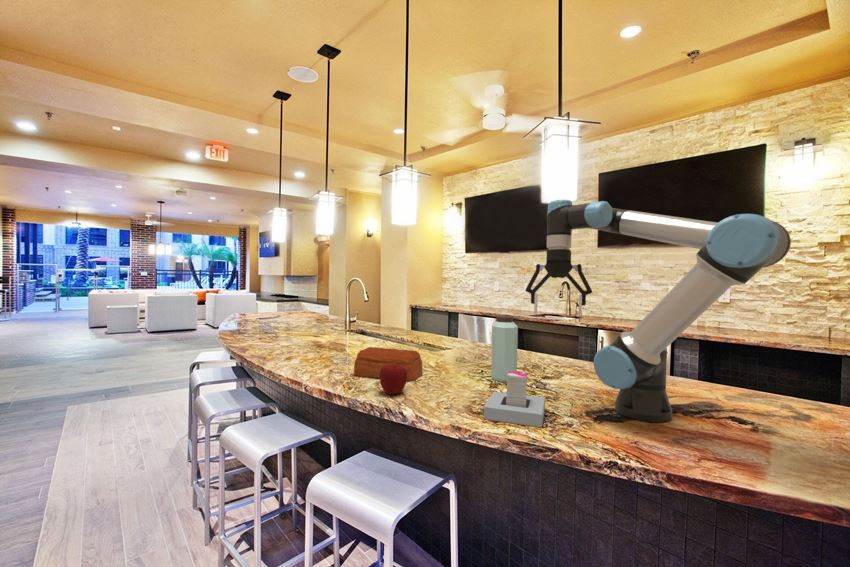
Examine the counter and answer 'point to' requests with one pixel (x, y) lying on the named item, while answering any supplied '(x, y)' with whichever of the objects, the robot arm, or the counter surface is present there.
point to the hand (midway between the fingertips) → (557, 315)
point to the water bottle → (504, 348)
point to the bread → (387, 362)
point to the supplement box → (516, 389)
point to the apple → (393, 378)
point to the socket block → (515, 410)
